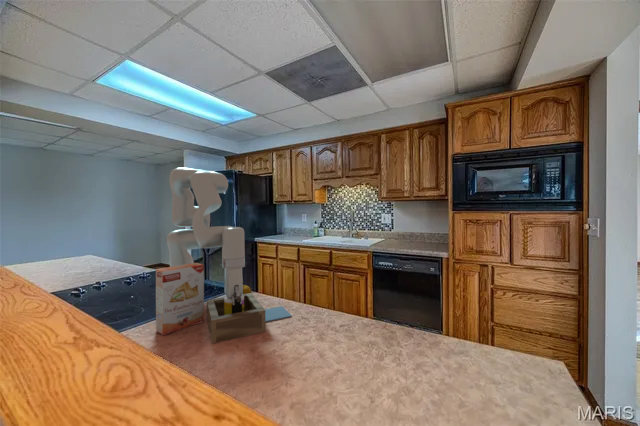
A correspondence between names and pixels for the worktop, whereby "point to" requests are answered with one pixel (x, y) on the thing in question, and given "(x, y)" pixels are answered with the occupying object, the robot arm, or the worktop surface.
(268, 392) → the worktop surface
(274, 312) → the mat
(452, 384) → the worktop surface
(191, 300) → the cracker box
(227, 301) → the supplement bottle
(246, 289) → the apple
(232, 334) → the box
